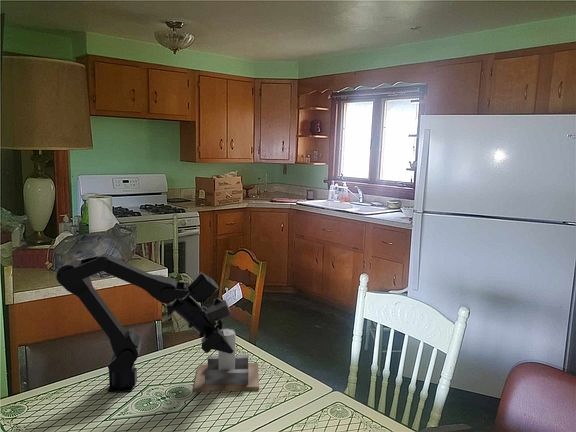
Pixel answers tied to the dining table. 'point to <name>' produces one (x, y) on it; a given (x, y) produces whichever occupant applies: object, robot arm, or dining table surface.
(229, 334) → the beverage can
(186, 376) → the dining table surface
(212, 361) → the vise
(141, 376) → the dining table surface
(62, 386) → the dining table surface
